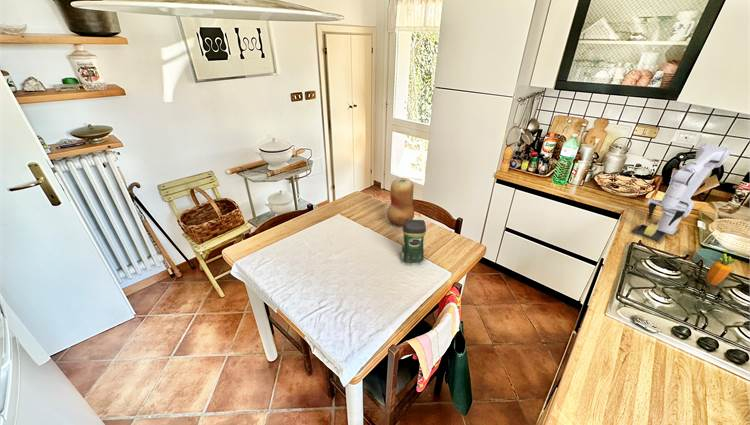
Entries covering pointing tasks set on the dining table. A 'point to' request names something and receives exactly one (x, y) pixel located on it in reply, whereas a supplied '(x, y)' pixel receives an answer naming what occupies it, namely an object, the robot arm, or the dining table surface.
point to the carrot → (719, 270)
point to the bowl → (707, 256)
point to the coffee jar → (413, 241)
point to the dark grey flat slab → (656, 236)
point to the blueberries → (643, 320)
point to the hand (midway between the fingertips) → (659, 221)
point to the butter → (651, 229)
